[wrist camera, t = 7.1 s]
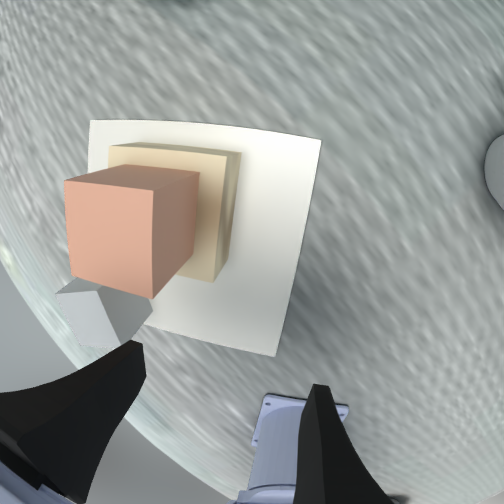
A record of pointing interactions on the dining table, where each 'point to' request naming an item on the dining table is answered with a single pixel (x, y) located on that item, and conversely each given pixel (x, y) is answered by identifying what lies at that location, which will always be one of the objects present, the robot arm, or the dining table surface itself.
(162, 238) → the terracotta block
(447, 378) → the dining table surface
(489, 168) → the cup
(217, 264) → the maple block
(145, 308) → the grey block
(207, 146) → the board
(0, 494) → the robot arm
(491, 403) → the dining table surface
